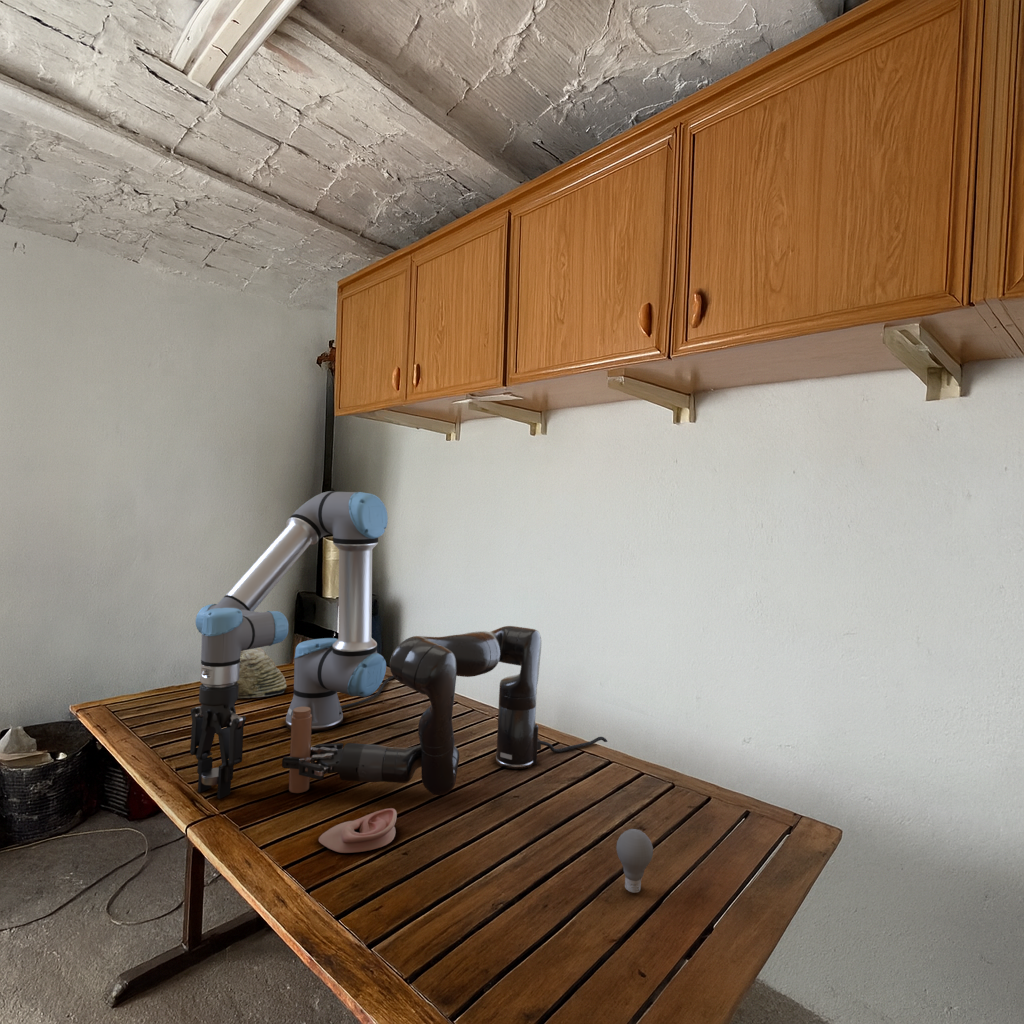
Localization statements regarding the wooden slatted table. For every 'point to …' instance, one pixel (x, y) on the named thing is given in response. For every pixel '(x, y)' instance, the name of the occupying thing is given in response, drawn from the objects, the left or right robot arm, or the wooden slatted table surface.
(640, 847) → the light bulb
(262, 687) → the fossil
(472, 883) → the wooden slatted table surface
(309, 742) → the pinkish brown cylinder
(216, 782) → the lid
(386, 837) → the anatomical model
